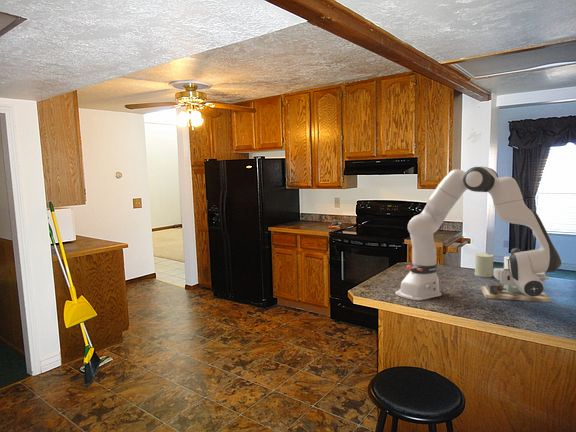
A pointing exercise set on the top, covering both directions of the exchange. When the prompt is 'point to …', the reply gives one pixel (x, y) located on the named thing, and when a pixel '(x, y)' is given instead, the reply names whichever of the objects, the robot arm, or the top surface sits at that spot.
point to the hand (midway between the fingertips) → (514, 270)
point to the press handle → (509, 287)
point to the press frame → (509, 293)
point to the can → (484, 265)
